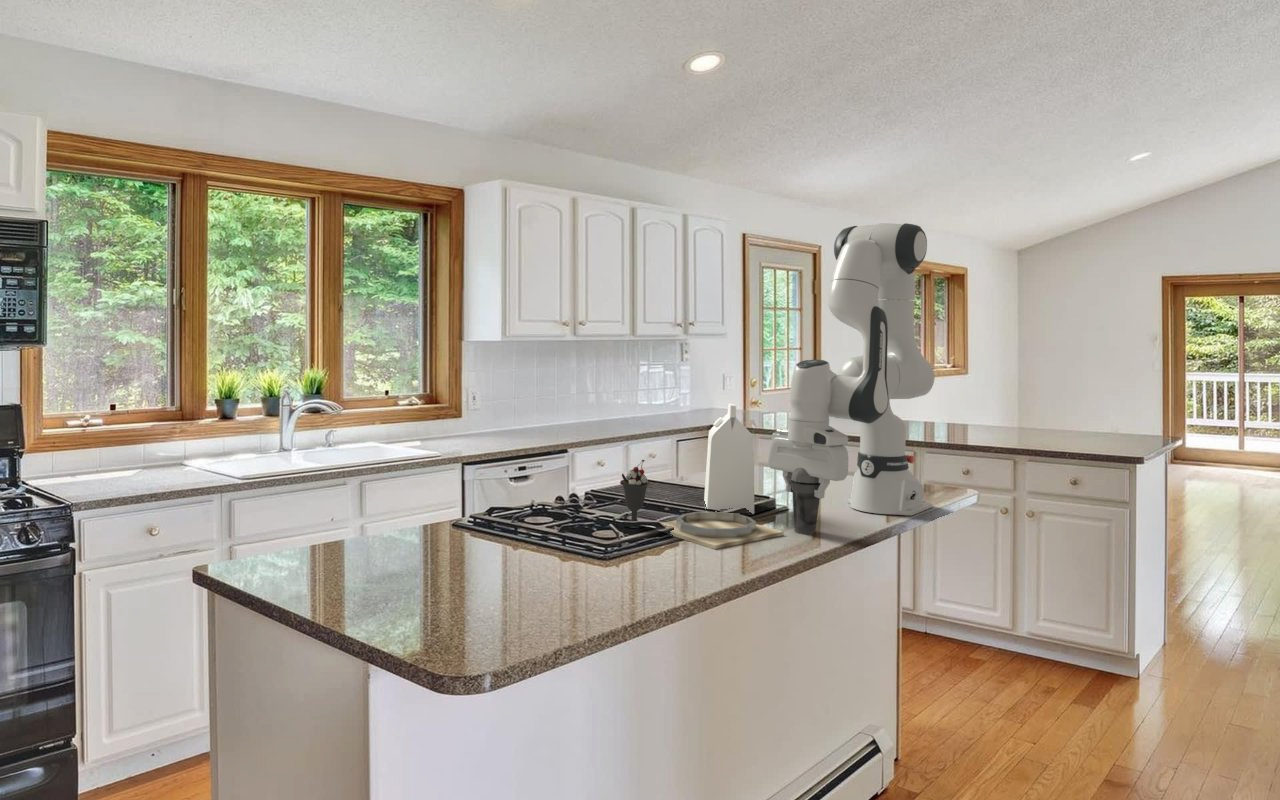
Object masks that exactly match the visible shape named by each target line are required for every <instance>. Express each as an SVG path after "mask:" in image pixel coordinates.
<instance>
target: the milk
mask: <svg viewBox="0 0 1280 800" xmlns="http://www.w3.org/2000/svg"><path fill="white" fill-rule="evenodd" d="M707 437H708V439H707V453H706V464H705V465H706V467H705V468H706V469H705V482H704V494H703V495H704V497H703V499H704V500H703V502H704V501H705V504H706V507H707V509H729V508H730V509H731V508H746V509H747V510H749V512H751V513H752V514H751V515H754V514H755V439H754V438H755V437H754V435H753V434H752V433H751V432H750V431H749V430H748V428H747V427H746V426H745V425H744V424H743V423H742V421H740V420H739V419H738V418H737V405H736V404H735V403H728V406H727V414H725V415H724V416H723V417H721V416H719V418H717V419H716V420H715V422H714V423H713V426H712V427H711V428H710V429H709V430H708V436H707ZM705 504H704V505H705ZM706 507H705V508H706Z"/></svg>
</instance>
